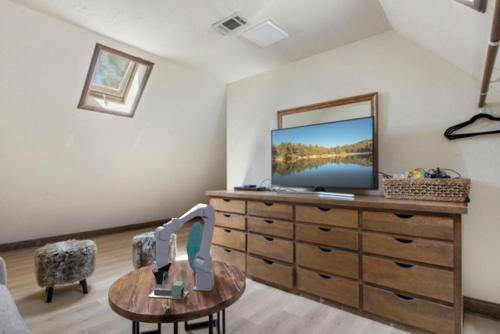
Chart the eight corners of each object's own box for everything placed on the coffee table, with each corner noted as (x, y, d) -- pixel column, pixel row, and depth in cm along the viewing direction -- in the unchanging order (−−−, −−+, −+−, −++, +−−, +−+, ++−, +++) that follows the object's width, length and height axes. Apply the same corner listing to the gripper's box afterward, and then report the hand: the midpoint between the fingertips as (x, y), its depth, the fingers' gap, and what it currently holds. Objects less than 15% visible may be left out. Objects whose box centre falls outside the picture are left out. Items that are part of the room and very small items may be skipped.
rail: (188, 292, 132) (188, 280, 132) (183, 299, 125) (183, 286, 125) (154, 290, 134) (155, 279, 134) (148, 297, 127) (148, 284, 127)
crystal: (207, 275, 154) (207, 224, 155) (184, 275, 154) (184, 224, 155) (210, 268, 166) (211, 220, 167) (189, 267, 166) (189, 220, 167)
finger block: (168, 283, 125) (168, 271, 125) (164, 287, 120) (164, 275, 120) (159, 282, 125) (159, 271, 125) (154, 287, 120) (154, 275, 120)
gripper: (160, 247, 131) (160, 275, 130) (146, 257, 116) (146, 288, 116) (174, 248, 130) (174, 275, 130) (161, 257, 115) (161, 288, 115)
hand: (161, 281), depth 123 cm, fingers closed on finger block, 5 cm apart
